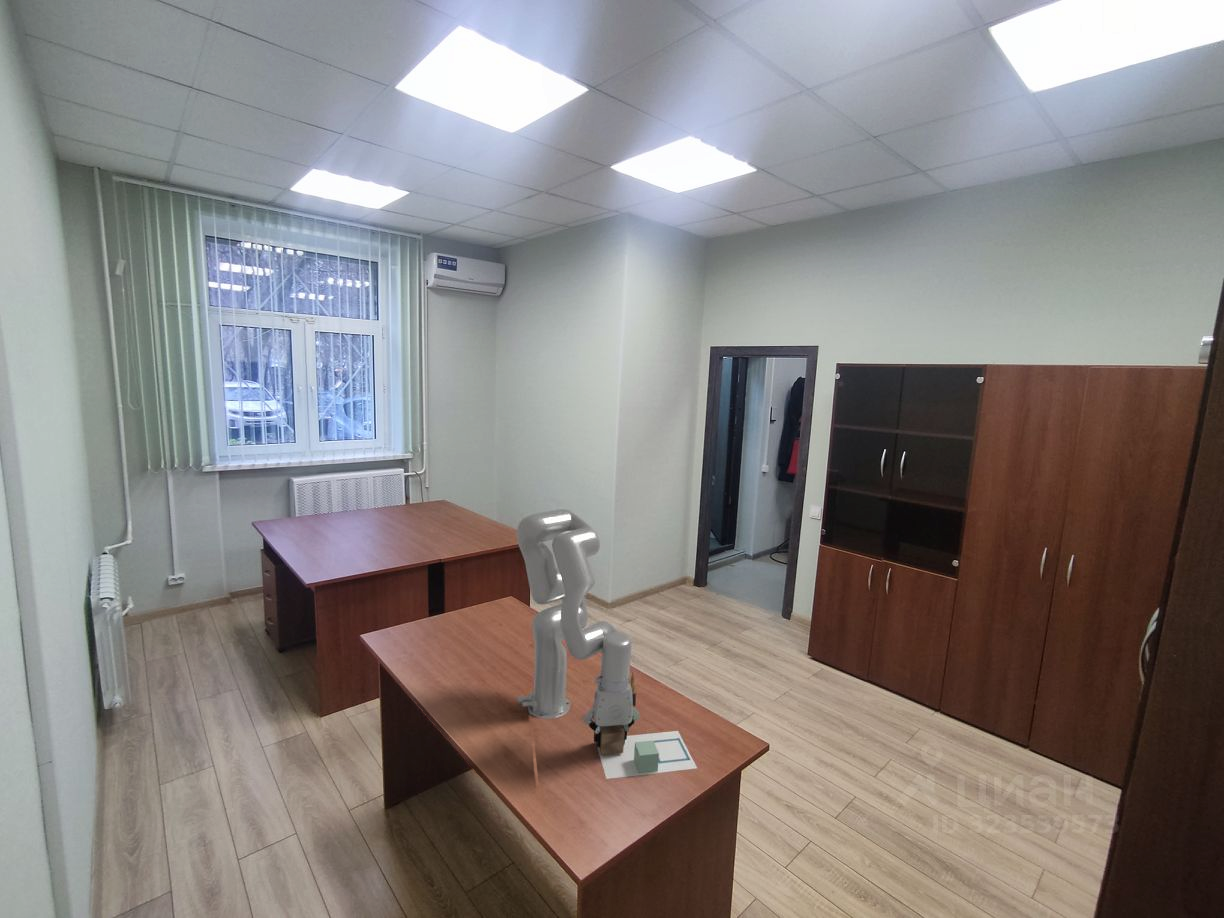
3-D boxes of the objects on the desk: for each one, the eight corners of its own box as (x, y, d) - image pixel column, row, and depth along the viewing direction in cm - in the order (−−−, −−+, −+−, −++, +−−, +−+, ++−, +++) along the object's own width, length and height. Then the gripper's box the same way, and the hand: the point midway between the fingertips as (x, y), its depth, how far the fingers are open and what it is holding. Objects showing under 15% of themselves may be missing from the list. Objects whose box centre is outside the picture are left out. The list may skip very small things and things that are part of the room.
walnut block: (600, 755, 138) (602, 734, 137) (596, 739, 144) (598, 719, 143) (623, 752, 139) (624, 732, 139) (618, 737, 145) (619, 717, 144)
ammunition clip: (608, 720, 155) (610, 682, 154) (604, 717, 157) (606, 680, 155) (635, 708, 162) (637, 671, 160) (631, 705, 163) (633, 669, 162)
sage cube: (638, 773, 133) (639, 755, 133) (633, 759, 138) (634, 742, 137) (657, 771, 134) (658, 753, 134) (652, 757, 139) (653, 740, 138)
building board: (606, 782, 131) (606, 778, 131) (595, 742, 146) (595, 738, 145) (697, 771, 136) (697, 767, 136) (677, 734, 151) (677, 730, 151)
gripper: (584, 691, 133) (580, 755, 136) (649, 687, 137) (644, 749, 140) (579, 674, 140) (576, 735, 143) (642, 671, 144) (637, 730, 147)
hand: (609, 742), depth 142 cm, fingers closed on walnut block, 6 cm apart
